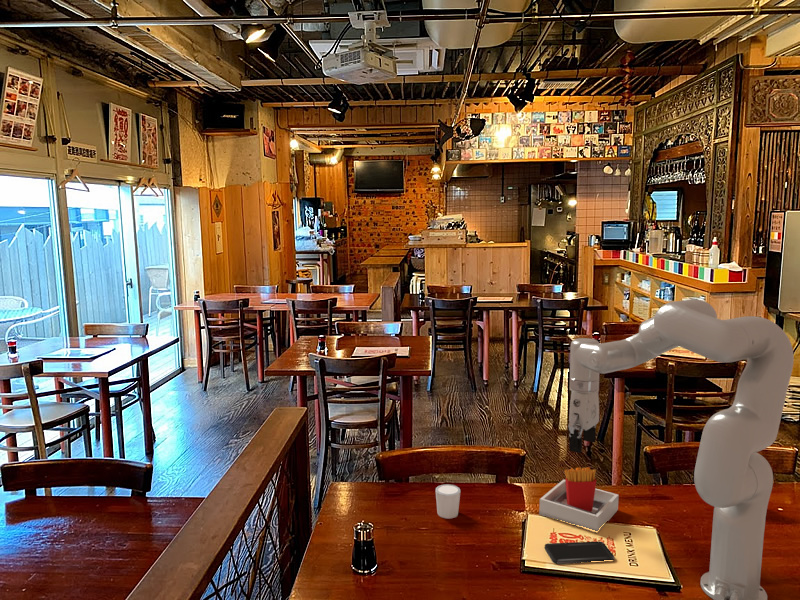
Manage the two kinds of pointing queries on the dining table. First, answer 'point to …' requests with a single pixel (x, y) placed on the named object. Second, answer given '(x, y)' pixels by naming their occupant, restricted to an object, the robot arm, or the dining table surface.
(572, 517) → the walled box
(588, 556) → the phone
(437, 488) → the shot glass
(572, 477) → the french fries
